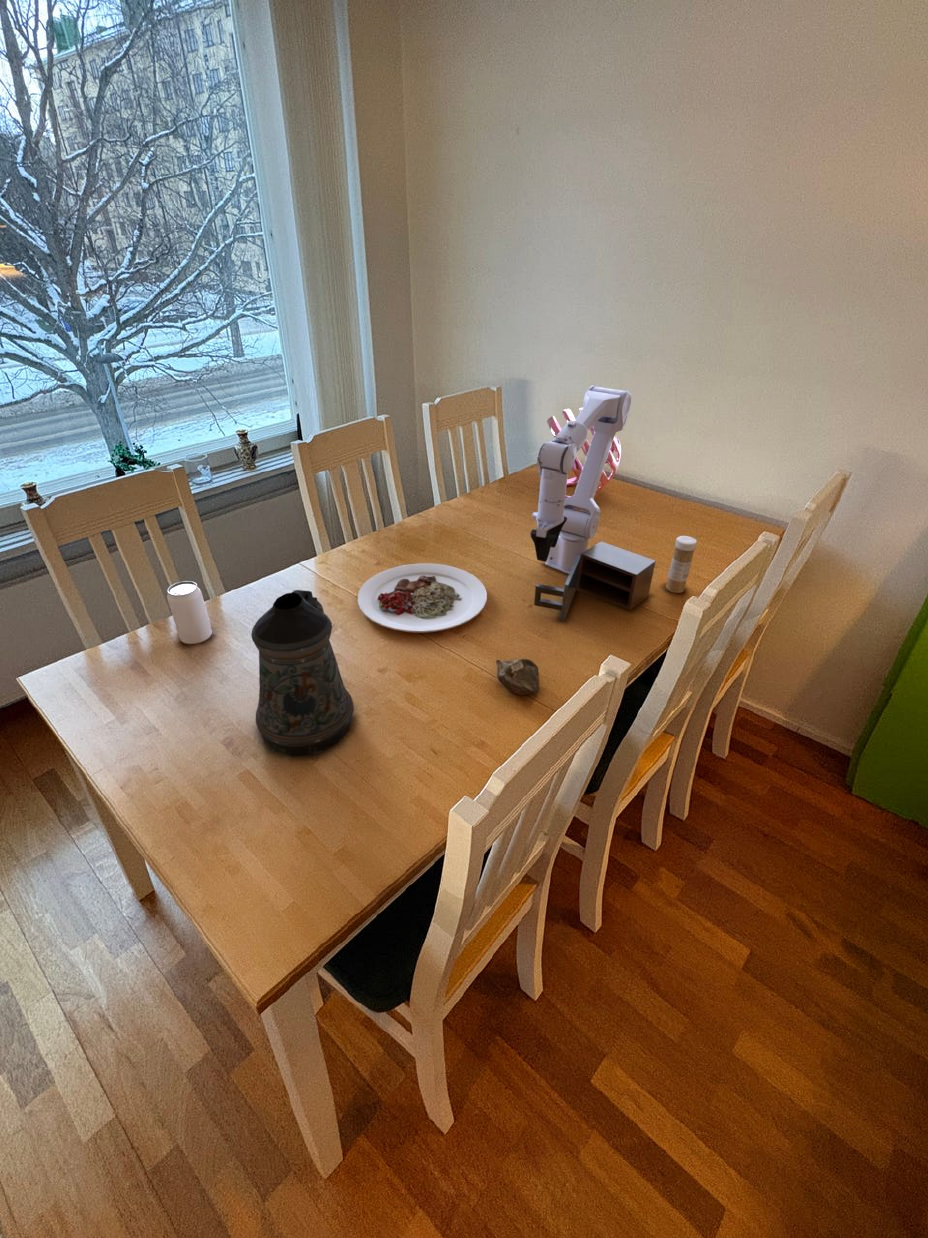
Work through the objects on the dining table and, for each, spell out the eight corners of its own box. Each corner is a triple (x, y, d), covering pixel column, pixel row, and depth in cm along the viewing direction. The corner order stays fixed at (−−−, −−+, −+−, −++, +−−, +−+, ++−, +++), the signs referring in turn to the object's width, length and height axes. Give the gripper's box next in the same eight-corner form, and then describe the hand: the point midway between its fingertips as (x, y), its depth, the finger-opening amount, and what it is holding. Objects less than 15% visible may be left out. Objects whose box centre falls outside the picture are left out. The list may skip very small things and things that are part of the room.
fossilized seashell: (486, 662, 116) (500, 701, 109) (506, 639, 113) (521, 678, 106) (515, 671, 120) (530, 709, 113) (535, 649, 117) (552, 688, 110)
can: (219, 631, 128) (206, 583, 122) (198, 647, 123) (184, 598, 116) (194, 625, 130) (180, 577, 123) (173, 641, 125) (157, 592, 118)
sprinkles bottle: (676, 583, 148) (688, 533, 140) (688, 592, 144) (701, 542, 136) (661, 586, 146) (672, 536, 139) (672, 595, 143) (684, 545, 135)
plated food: (512, 600, 140) (513, 587, 138) (420, 656, 122) (420, 642, 120) (424, 558, 157) (424, 546, 155) (331, 601, 139) (330, 589, 137)
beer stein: (266, 770, 96) (235, 646, 82) (251, 696, 111) (222, 580, 97) (365, 741, 102) (352, 620, 88) (338, 675, 116) (323, 562, 102)
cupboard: (629, 611, 137) (636, 574, 131) (576, 588, 145) (580, 553, 139) (648, 596, 142) (655, 560, 137) (595, 575, 150) (601, 541, 145)
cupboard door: (531, 614, 135) (534, 578, 130) (546, 583, 146) (549, 550, 141) (563, 621, 133) (568, 585, 128) (576, 589, 144) (580, 555, 139)
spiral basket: (512, 441, 178) (594, 388, 169) (519, 436, 204) (590, 391, 195) (558, 521, 183) (640, 474, 175) (559, 507, 209) (630, 466, 201)
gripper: (543, 484, 137) (538, 537, 145) (524, 506, 126) (520, 563, 133) (573, 488, 135) (566, 542, 142) (557, 512, 124) (550, 569, 131)
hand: (546, 553), depth 138 cm, fingers open, 7 cm apart
